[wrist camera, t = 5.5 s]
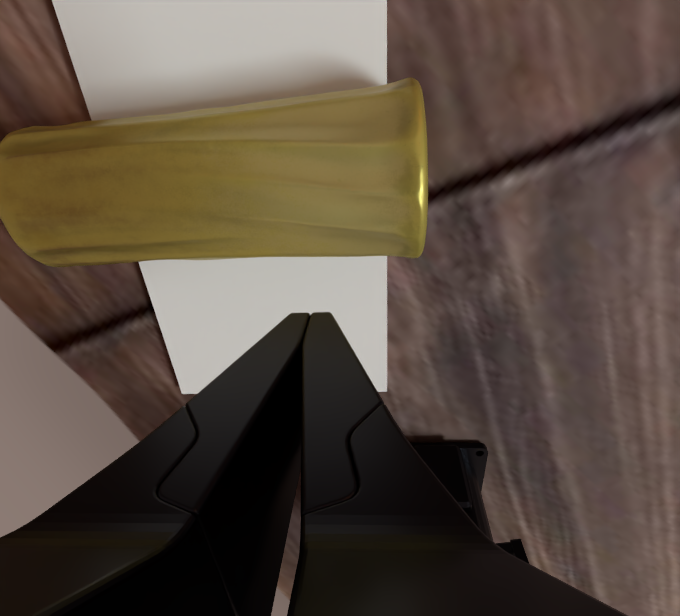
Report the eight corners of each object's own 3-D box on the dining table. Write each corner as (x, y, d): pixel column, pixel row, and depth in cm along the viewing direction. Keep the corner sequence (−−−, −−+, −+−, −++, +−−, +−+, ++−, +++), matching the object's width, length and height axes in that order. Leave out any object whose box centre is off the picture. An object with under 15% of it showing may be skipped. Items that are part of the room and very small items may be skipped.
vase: (419, 282, 18) (86, 299, 19) (409, 154, 20) (107, 177, 21) (434, 203, 12) (-46, 234, 13) (419, 31, 14) (-1, 74, 15)
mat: (386, 384, 25) (387, 391, 25) (185, 386, 26) (182, 393, 26) (385, -237, 13) (386, -248, 12) (-2, -195, 14) (-16, -203, 13)
